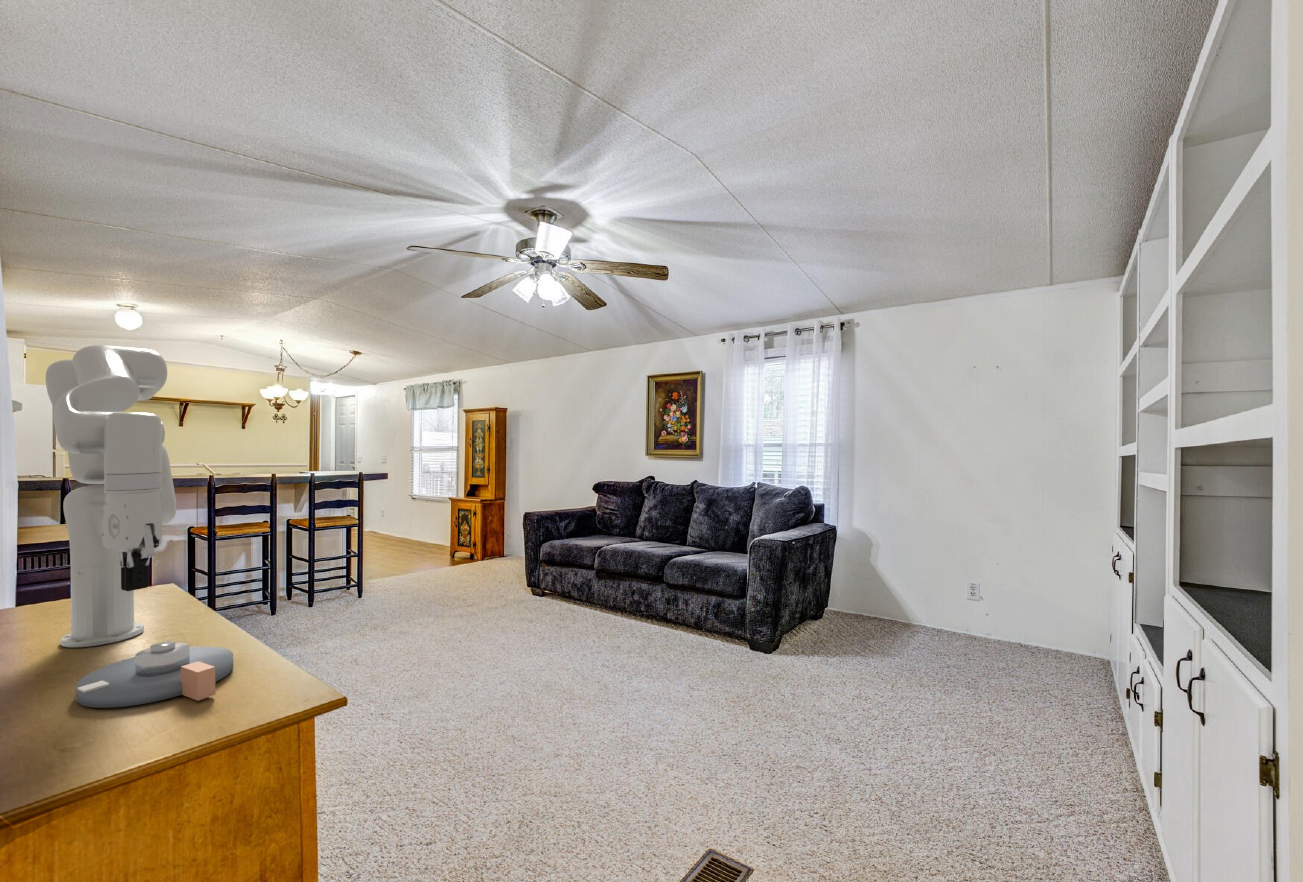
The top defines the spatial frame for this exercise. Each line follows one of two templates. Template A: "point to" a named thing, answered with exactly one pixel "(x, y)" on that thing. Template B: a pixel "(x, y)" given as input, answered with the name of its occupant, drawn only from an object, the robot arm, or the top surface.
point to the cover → (162, 659)
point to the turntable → (154, 681)
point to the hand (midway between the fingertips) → (134, 588)
